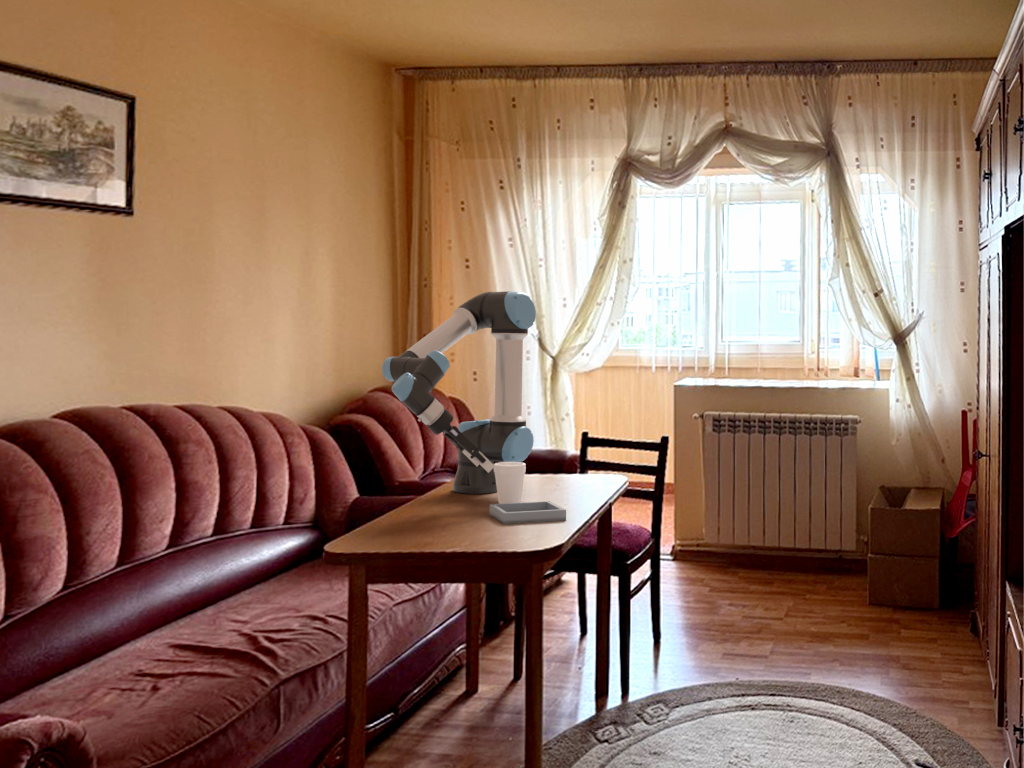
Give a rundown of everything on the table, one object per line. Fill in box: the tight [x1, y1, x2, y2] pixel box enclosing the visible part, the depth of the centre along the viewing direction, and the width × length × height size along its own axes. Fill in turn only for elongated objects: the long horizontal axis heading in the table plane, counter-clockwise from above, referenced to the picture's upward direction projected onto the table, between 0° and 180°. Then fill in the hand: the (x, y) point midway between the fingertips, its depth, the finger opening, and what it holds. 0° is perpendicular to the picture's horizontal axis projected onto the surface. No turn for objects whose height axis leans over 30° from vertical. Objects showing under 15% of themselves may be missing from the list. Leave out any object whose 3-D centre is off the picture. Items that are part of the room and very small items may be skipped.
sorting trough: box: [489, 500, 567, 525], centre depth 323 cm, size 15×18×3 cm
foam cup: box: [494, 461, 527, 504], centre depth 340 cm, size 10×9×13 cm
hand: (485, 466), depth 337 cm, fingers open, 13 cm apart
